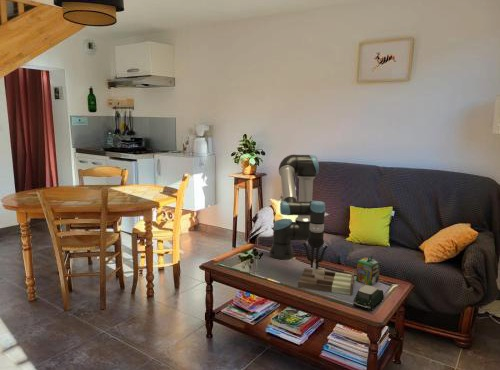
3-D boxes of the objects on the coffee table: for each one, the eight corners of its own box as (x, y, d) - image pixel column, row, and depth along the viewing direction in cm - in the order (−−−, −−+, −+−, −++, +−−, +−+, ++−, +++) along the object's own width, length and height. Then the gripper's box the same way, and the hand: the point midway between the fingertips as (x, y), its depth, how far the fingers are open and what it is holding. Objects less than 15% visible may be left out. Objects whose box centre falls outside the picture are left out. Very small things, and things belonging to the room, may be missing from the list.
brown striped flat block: (304, 273, 216) (305, 263, 215) (353, 280, 208) (354, 269, 207) (298, 287, 197) (298, 276, 196) (352, 295, 189) (352, 283, 188)
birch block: (315, 275, 206) (316, 267, 205) (324, 276, 205) (324, 268, 204) (314, 278, 202) (315, 270, 201) (323, 279, 201) (323, 271, 200)
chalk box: (363, 276, 214) (365, 251, 212) (379, 281, 208) (381, 255, 205) (355, 280, 208) (357, 254, 205) (370, 286, 201) (373, 259, 199)
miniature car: (384, 299, 186) (386, 283, 185) (370, 312, 172) (371, 295, 171) (366, 294, 192) (368, 278, 191) (351, 306, 178) (352, 290, 177)
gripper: (302, 231, 199) (300, 274, 202) (328, 234, 195) (325, 278, 198) (305, 227, 206) (303, 269, 209) (329, 230, 202) (327, 273, 206)
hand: (314, 273), depth 204 cm, fingers closed
